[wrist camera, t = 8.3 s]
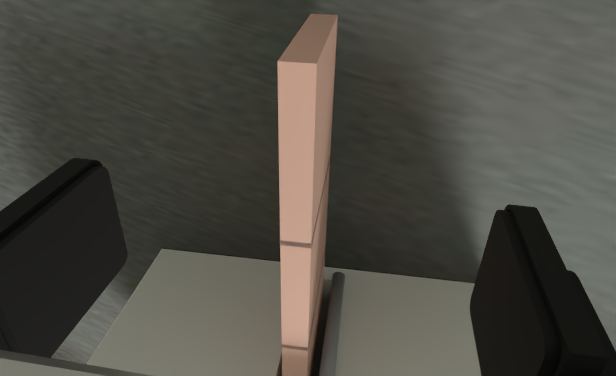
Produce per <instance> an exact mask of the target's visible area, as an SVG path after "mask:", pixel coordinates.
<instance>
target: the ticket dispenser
mask: <svg viewBox="0 0 616 376" xmlns="http://www.w3.org/2000/svg"><path fill="white" fill-rule="evenodd" d="M474 285H475V283H467V282H458V281H449V280H440V279H431V278H422V277H413V276H404V275H395V274H386V273H377V272H368V271H359V270H350V269H341V268H332V267H324V283H323V302H322V311H321V317H320V324H319V330H318V337H317V343H316V350H315V356H314V363H313V370H312V376H481V371H480V365H479V360H478V354H477V349H476V344H475V338H474V333H473V327H472V322H471V316H470V299H471V295H472V292H473V288H474ZM281 343H282V330H281V263H280V262H278V261H269V260H260V259H251V258H242V257H233V256H224V255H215V254H206V253H197V252H188V251H179V250H170V249H161V251H160V252H159V254H158V255H157V257H156V258H155V260H154V261H153V263H152V264H151V266H150V267H149V269H148V270H147V272H146V274H145V275H144V277H143V278H142V280H141V281H140V283H139V284H138V286H137V287H136V289H135V290H134V292H133V293H132V295H131V296H130V298H129V300H128V301H127V303H126V304H125V306H124V307H123V309H122V310H121V312H120V313H119V315H118V316H117V318H116V319H115V321H114V322H113V324H112V326H111V327H110V329H109V330H108V332H107V333H106V335H105V336H104V338H103V339H102V341H101V342H100V344H99V345H98V347H97V348H96V350H95V352H94V353H93V355H92V356H91V358H90V359H89V361H88V362H87V364H88V365H94V366H100V367H106V368H111V369H117V370H123V371H129V372H135V373H140V374H146V375H152V376H282V348H281Z"/></svg>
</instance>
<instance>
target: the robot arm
mask: <svg viewBox="0 0 616 376" xmlns="http://www.w3.org/2000/svg"><path fill="white" fill-rule="evenodd" d="M126 259H127V249H126V244H125V240H124V236H123V232H122V227H121V223H120V219H119V215H118V211H117V206H116V202H115V198H114V194H113V190H112V185H111V181H110V177H109V173H108V170H107V169H106V168H105V167H103V166H102V164H101V163H100V162H99V161H97V160H89V159H80V158H73V159H71V160H70V161H68V162H67V163H65V164H64V165H63V166H61V167H60V168H59V169H57V170H56V171H55V172H53V173H52V174H50V175H49V176H48V177H46V178H45V179H44V180H42V181H41V182H40V183H38V184H37V185H35V186H34V187H33V188H31V189H30V190H29V191H27V192H26V193H25V194H23V195H22V196H20V197H19V198H18V199H16V200H15V201H14V202H12V203H11V204H10V205H8V206H7V207H5V208H4V209H3V210H1V211H0V376H152V375H146V374H140V373H135V372H129V371H123V370H117V369H111V368H106V367H100V366H94V365H88V364H82V363H76V362H70V361H64V360H58V359H52V358H51V356H52V355H53V354H54V353H55V351H56V350H57V349H58V348H59V346H60V345H61V344H62V342H63V341H64V340H65V339H66V337H67V336H68V335H69V334H70V332H71V331H72V330H73V329H74V327H75V326H76V325H77V324H78V322H79V321H80V320H81V319H82V317H83V316H84V315H85V314H86V312H87V311H88V310H89V308H90V307H91V306H92V305H93V303H94V302H95V301H96V300H97V298H98V297H99V296H100V295H101V293H102V292H103V291H104V290H105V288H106V287H107V286H108V285H109V283H110V282H111V281H112V279H113V278H114V277H115V276H116V274H117V273H118V272H119V271H120V269H121V268H122V267H123V266H124V264H125V262H126ZM470 316H471V322H472V327H473V333H474V338H475V344H476V349H477V354H478V360H479V365H480V371H481V376H616V351H615V349H614V347H613V345H612V343H611V341H610V339H609V337H608V335H607V333H606V331H605V329H604V328H603V326H602V324H601V322H600V320H599V318H598V316H597V314H596V312H595V310H594V308H593V306H592V304H591V302H590V300H589V298H588V296H587V294H586V292H585V290H584V288H583V286H582V284H581V282H580V280H579V278H578V277H577V275H576V274H575V273H574V272H572V271H568V270H567V269H566V267H565V265H564V263H563V261H562V259H561V257H560V255H559V253H558V251H557V249H556V246H555V244H554V242H553V240H552V238H551V236H550V234H549V232H548V230H547V228H546V226H545V224H544V222H543V219H542V217H541V215H540V213H539V211H538V210H537V208H535V207H527V206H518V205H507V206H506V208H505V210H497V211H496V213H495V216H494V219H493V223H492V226H491V230H490V233H489V236H488V240H487V243H486V247H485V250H484V254H483V257H482V261H481V264H480V268H479V271H478V275H477V278H476V281H475V285H474V288H473V292H472V295H471V299H470Z"/></svg>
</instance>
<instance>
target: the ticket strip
mask: <svg viewBox="0 0 616 376" xmlns="http://www.w3.org/2000/svg"><path fill="white" fill-rule="evenodd" d="M337 20H338V15H328V14H310V15H309V17H308V18H307V20H306V21H305V23H304V24H303V25H302V27H301V28H300V30H299V31H298V33H297V34H296V36H295V37H294V38H293V40H292V41H291V43H290V44H289V46H288V47H287V48H286V50H285V51H284V53H283V54H282V56H281V57H280V58H279V60H278V61H277V62H278V129H279V196H280V263H281V330H282V343H281V348H282V376H312V370H313V363H314V356H315V350H316V343H317V337H318V330H319V324H320V317H321V311H322V302H323V283H324V264H325V248H326V226H327V208H328V189H329V170H330V158H331V154H330V151H331V133H332V114H333V95H334V76H335V57H336V39H337Z"/></svg>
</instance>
